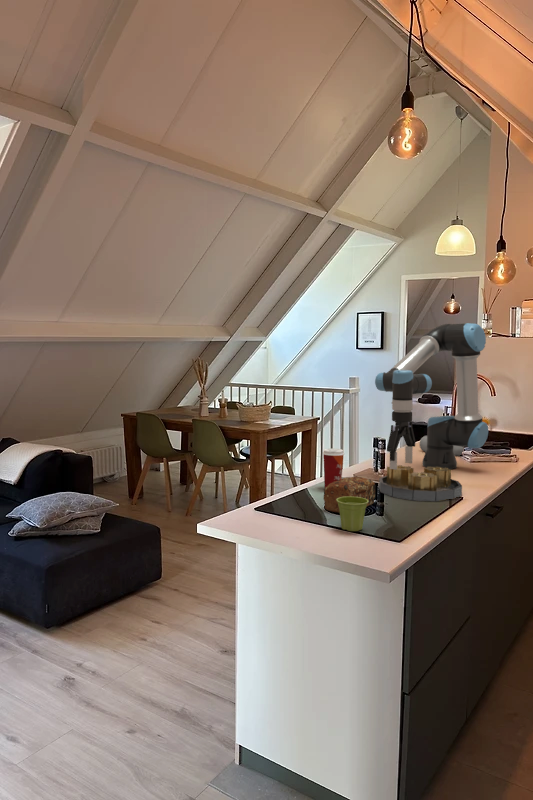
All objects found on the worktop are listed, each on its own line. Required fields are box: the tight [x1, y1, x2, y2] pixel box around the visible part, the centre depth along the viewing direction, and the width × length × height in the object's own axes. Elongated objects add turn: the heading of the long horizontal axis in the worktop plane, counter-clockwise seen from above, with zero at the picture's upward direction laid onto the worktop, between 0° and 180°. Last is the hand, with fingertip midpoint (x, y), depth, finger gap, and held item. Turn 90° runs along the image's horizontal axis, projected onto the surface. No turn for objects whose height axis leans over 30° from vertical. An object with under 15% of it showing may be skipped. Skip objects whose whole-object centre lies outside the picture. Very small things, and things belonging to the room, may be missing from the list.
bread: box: [323, 476, 376, 514], centre depth 206 cm, size 19×11×10 cm, turn 143°
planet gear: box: [386, 464, 415, 486], centre depth 235 cm, size 10×10×6 cm
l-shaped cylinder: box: [419, 435, 465, 457], centre depth 312 cm, size 18×11×20 cm
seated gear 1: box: [408, 471, 437, 491], centre depth 222 cm, size 10×10×6 cm
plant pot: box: [336, 497, 369, 532], centre depth 181 cm, size 9×9×9 cm
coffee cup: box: [322, 448, 345, 489], centre depth 232 cm, size 8×8×15 cm
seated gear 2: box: [423, 466, 452, 487], centre depth 233 cm, size 10×10×6 cm
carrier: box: [378, 468, 463, 502], centre depth 230 cm, size 29×29×8 cm
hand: (401, 466), depth 234 cm, fingers open, 13 cm apart
